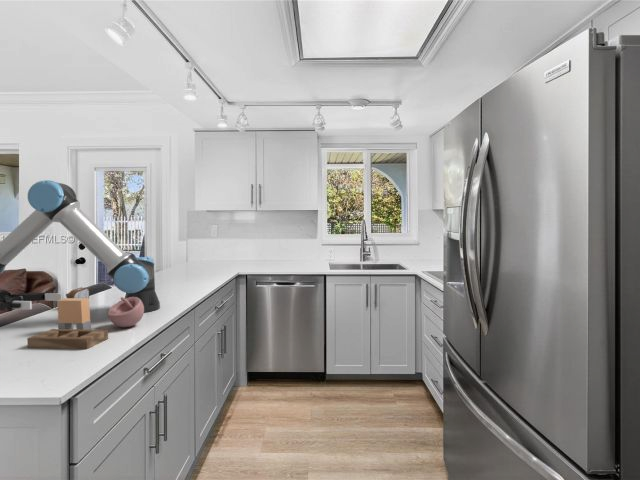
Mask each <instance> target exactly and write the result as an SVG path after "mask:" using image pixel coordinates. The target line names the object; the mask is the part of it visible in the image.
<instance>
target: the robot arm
mask: <svg viewBox="0 0 640 480" xmlns="http://www.w3.org/2000/svg"><path fill="white" fill-rule="evenodd" d="M27 201H28V204H29V205H30V206H31V207H32V208H33V209H34V211H33V212H31V214H29V215H28V216H27V217H25V219H24V220H23V221H22V222H21V223H19V225H17V226H16V227H15V228H14V229H13V230H12V231H11V232H10V233H9V234H8V235H6V237H4V239H2V240H1V241H0V275H1V274H3V273H4V271H5V269H6V267H7V265H9V263H10V262H11V261H13V260H14V259H15V258H16V257H17V256H18V255H19V254H20V253H22V251H23V250H25V249H26V248H27V247H28V246H29V245H30V244H31V243H32V242H33V241H35V239H36V238H38V237H39V236H40V235H41V234H42V233H43V232H44V231H46V229H47V228H48V227H50V225H52V224H53V223H60V224H61V225H62V226H63V227H64V228H65V229H66V230H67V231H68V232H70V234H71V235H72V236H73V237H74V238H76V239H77V240H78V242H80V243H81V244H82V246H83V247H85V248H86V249H87V250H88V251H89V252H90V253H91V254H92V255H93V256H94V257H95V258H96V259H98V261H99V262H101V264H102V265H104V266H105V268H106V273H107V275H108V276H109V277H110V278H111V279H112V280H113V282H114V285H115V286H116V288H117V289H118V290H119V291H120V292H123V293H125V296H124V298H125V299H126V298H129V297H138V298H139V299H140V300H141V301H142V303H143V305H144V313H150V312H154V311H157V310H159V309H160V308H161V302H160V300H159V297H158V295H157V293H156V287H155V286H156V282H155V281H156V278H155V262H154V261H155V260H154V258H153V257H152V256H151V257H150V256H149V257H148V256H147V257H146V256H144V257H143V256H139V257H137V256H136V257H135V255H133V254H132V252H131V253H130V252H129V253H127V252H125V251H124V250H123V249H122V248H121V247H119V245H118V244H117V243H115V241H114V240H113V239H111V238H110V236H109V235H107V234H106V233H105V232H104V231H103V230H102V228H100V227H99V226H98V225H97V224H96V223H95V222H94V221H93V220H92V218H90V217H89V216H88V215H87V214H86V213H85V212H84V211H83V210H82V209H81V208H80V201H79V200H78V199H77V194H76V192H75V190H74V189H73V188H72V187H70V186H69V185H67V184H65V183H62V182H56V181H54V180H47V179H46V180H40V181H37V182H35V183H34V184H32V185H31V186H30V188H29V189H28V192H27ZM61 299H63V293H60V292H59V293H57V292H55V293H53V292H52V293H51V292H50V291H48V290H46V291H45V292H28V293H27V292H26V293H24V292H22V293H11V292H10V291H8V290H5V289H0V311H2V312H3V311H6V310H7V312H8V313H10V312H12V311H13V310H32V309H33V305H32V304H33V302H38V301H45V302H47V301H49V302H50V301H51V302H52V301H53V302H57V301H58V300H61Z"/></svg>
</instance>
